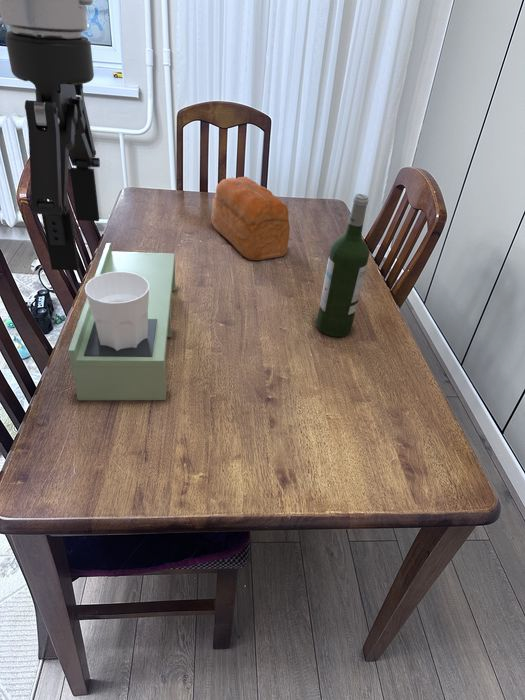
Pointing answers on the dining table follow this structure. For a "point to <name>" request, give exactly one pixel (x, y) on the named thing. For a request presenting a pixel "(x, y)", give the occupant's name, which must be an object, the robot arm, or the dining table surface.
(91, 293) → the cup
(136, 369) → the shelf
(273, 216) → the bread
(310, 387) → the dining table surface
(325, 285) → the wine bottle
